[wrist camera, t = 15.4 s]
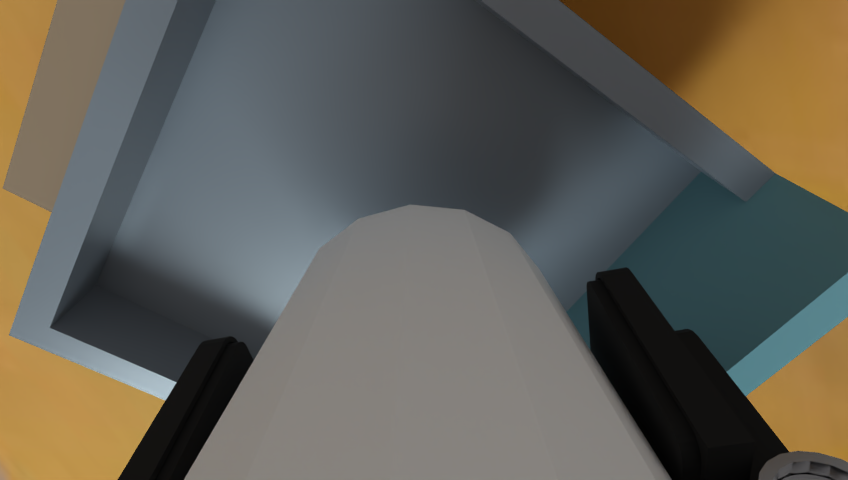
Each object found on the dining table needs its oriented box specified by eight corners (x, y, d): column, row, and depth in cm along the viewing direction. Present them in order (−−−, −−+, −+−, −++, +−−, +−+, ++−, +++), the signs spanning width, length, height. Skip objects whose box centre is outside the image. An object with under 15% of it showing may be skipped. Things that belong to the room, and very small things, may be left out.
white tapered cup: (301, 130, 9) (64, 436, 3) (630, 228, 10) (957, 607, 4) (247, 393, 12) (72, 817, 6) (506, 449, 13) (584, 862, 7)
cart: (684, 128, 16) (920, 260, 8) (442, 395, 21) (453, 623, 14) (298, -173, 12) (108, -411, 5) (122, 238, 17) (-101, 428, 10)
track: (882, 277, 19) (963, 328, 16) (625, 480, 24) (652, 546, 22) (182, -272, 12) (107, -353, 9) (34, 187, 17) (-43, 228, 14)
